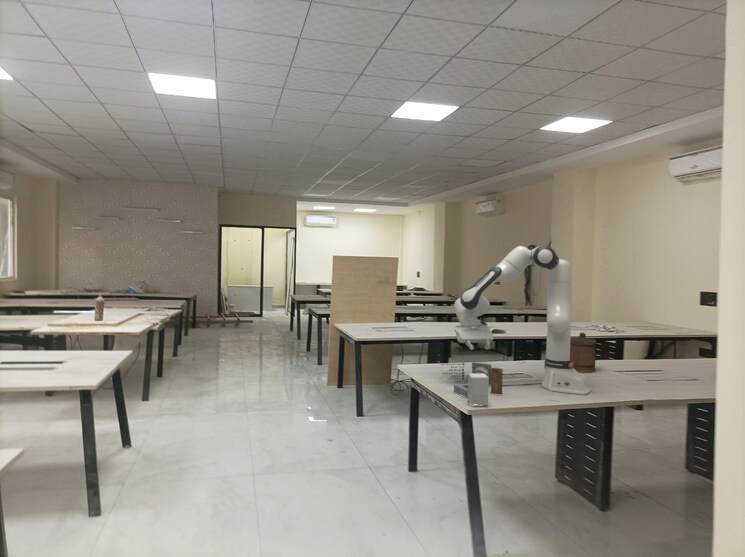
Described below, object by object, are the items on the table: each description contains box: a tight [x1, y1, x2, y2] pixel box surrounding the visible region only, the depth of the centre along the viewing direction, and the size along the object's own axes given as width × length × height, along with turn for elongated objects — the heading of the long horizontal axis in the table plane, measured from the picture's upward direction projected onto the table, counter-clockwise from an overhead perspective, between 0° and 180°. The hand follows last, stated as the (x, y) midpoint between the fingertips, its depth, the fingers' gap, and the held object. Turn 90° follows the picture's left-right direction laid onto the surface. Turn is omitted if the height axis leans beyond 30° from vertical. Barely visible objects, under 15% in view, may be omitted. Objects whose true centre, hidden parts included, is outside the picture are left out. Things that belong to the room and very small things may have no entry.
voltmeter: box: [440, 362, 493, 384], centre depth 242 cm, size 27×11×10 cm, turn 98°
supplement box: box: [467, 372, 490, 406], centre depth 207 cm, size 7×7×13 cm
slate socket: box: [453, 383, 468, 398], centre depth 222 cm, size 10×10×4 cm
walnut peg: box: [490, 367, 504, 395], centre depth 224 cm, size 4×4×12 cm
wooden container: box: [570, 332, 597, 374], centre depth 279 cm, size 15×15×22 cm
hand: (480, 348), depth 236 cm, fingers open, 8 cm apart
